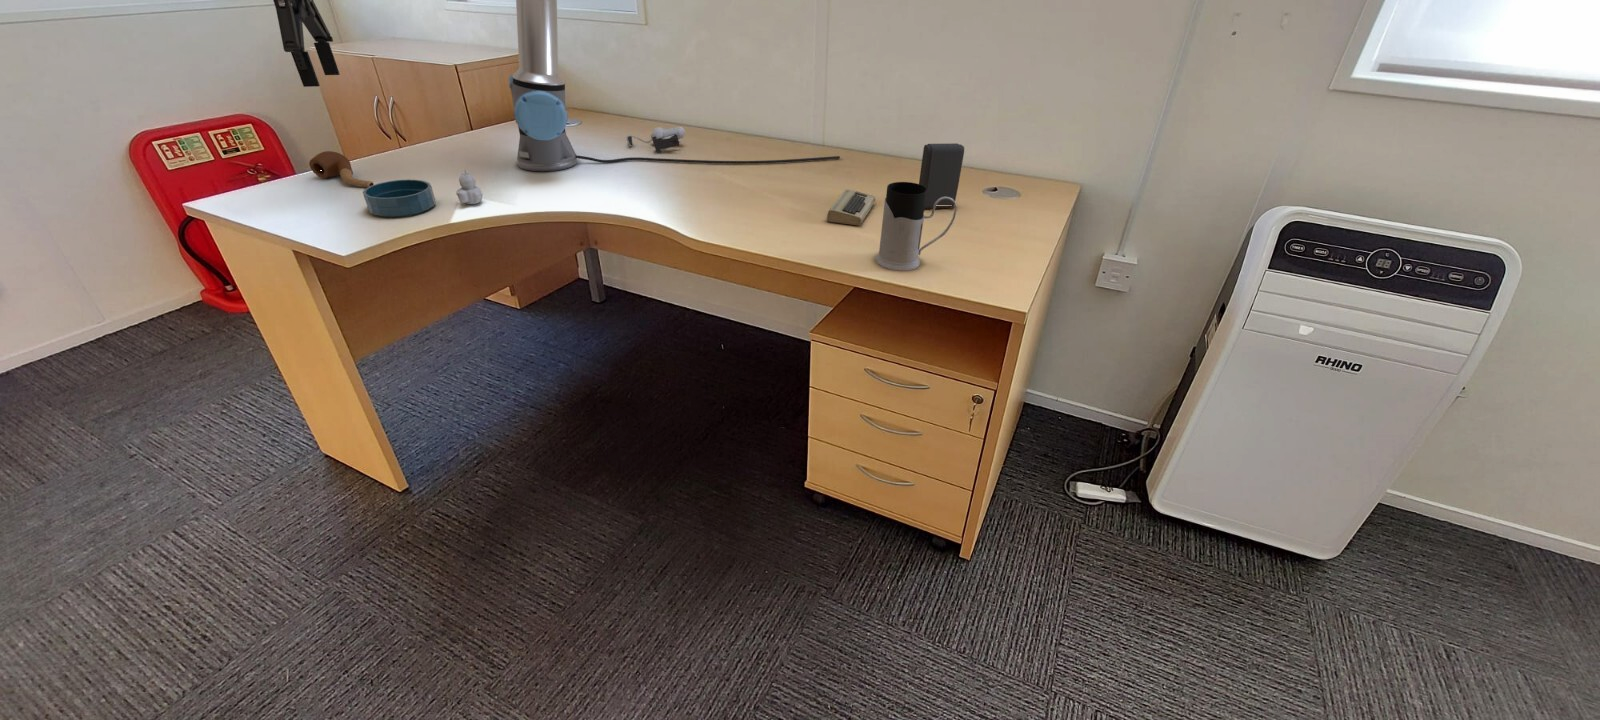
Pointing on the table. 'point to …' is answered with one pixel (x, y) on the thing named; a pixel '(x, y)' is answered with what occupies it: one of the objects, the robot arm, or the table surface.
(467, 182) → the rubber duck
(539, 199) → the table surface
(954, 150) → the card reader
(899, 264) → the glass holder
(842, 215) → the computer
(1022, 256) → the table surface
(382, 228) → the table surface
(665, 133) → the clip-on lamp
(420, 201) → the bowl
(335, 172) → the pipe
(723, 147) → the table surface
